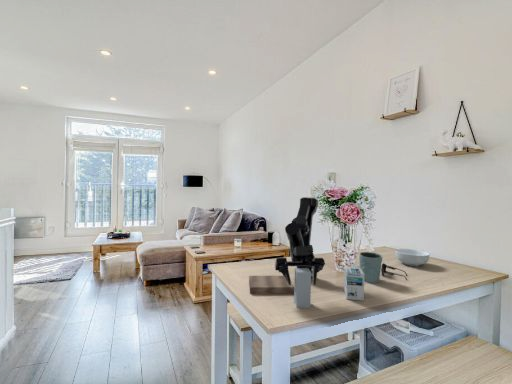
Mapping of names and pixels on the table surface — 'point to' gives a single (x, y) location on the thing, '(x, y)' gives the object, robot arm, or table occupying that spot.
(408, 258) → the cereal bowl
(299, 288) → the slate block
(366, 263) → the grey green cup
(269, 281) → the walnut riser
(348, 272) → the light bulb box
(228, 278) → the table surface
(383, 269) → the sunglasses
